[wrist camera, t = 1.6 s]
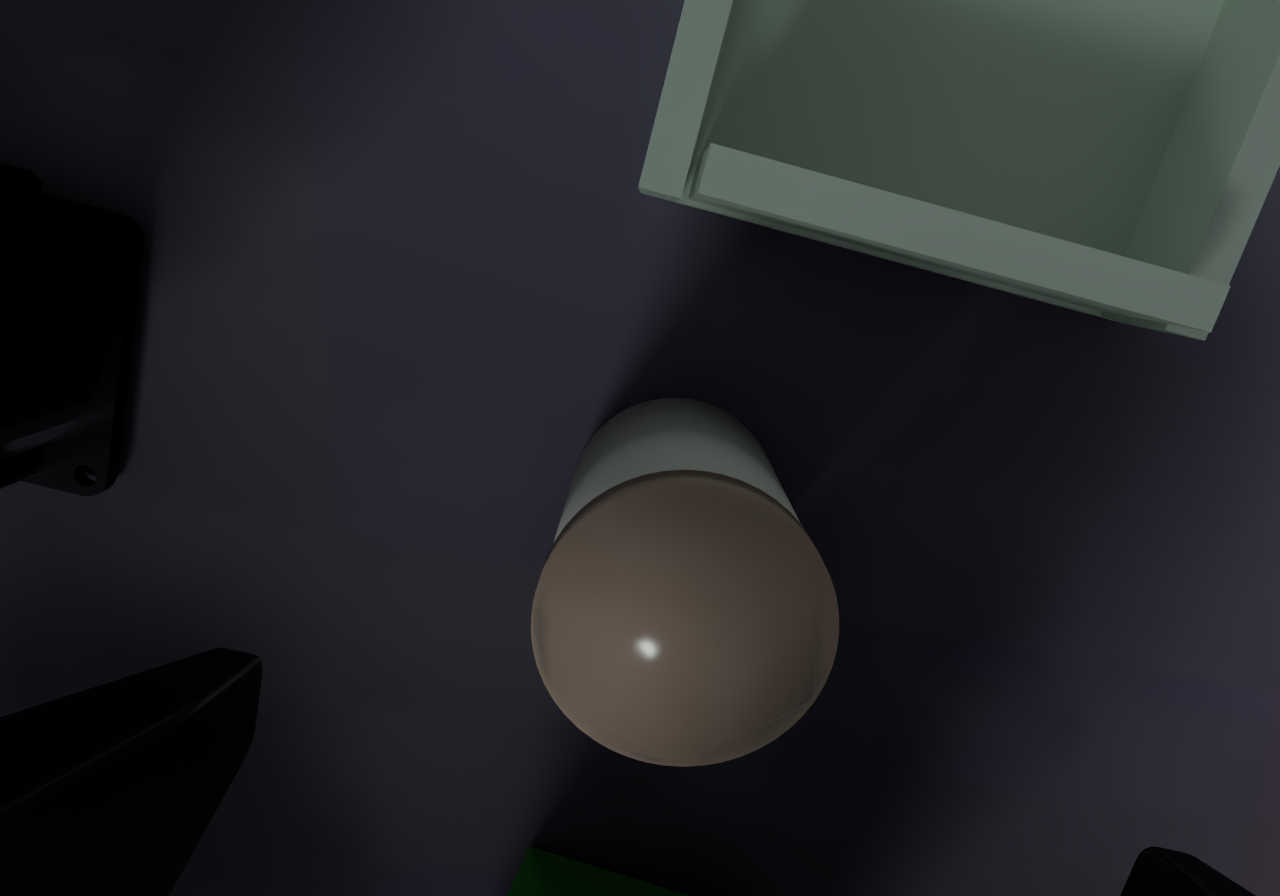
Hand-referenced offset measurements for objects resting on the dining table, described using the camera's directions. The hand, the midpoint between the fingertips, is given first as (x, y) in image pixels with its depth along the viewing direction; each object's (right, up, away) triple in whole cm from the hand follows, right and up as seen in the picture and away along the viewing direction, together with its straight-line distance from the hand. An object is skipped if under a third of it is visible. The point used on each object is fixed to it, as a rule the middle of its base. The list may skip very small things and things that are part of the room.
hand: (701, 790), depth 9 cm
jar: (0, +2, +12) cm, 12 cm away
